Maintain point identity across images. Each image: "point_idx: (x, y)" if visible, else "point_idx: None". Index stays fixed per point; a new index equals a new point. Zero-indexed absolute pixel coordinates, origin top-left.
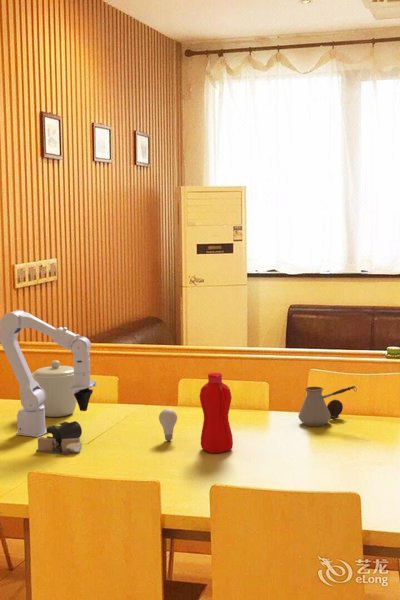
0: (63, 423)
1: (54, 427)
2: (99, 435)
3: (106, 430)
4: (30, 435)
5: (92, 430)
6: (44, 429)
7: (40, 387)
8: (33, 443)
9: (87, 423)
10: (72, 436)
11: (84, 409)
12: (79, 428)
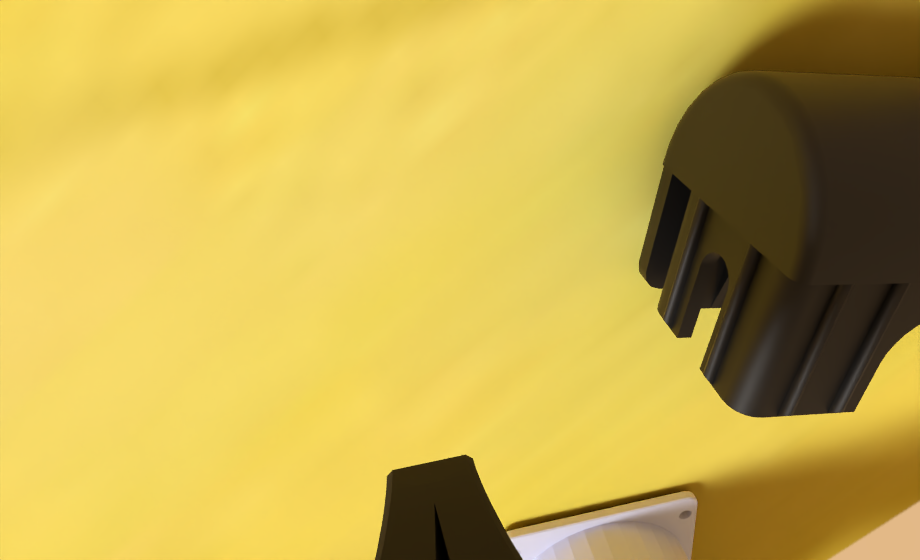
0: (862, 369)
1: None
2: (335, 31)
3: (70, 131)
4: (690, 540)
5: (215, 287)
6: (594, 552)
7: None
8: None
9: (55, 512)
10: (913, 77)
11: (481, 484)
12: (836, 101)
